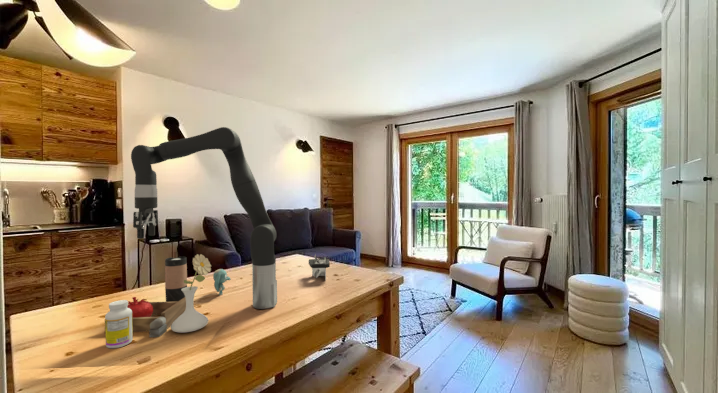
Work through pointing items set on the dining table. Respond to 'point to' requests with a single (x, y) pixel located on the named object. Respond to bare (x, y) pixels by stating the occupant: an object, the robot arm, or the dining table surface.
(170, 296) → the travel mug
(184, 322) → the flower in vase
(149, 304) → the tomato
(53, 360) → the dining table surface
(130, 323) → the supplement bottle
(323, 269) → the black-topped pedestal
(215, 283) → the teal character figurine
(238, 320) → the dining table surface
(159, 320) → the brown wooden open box
